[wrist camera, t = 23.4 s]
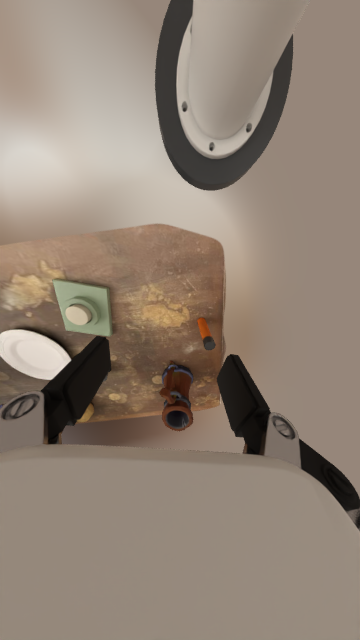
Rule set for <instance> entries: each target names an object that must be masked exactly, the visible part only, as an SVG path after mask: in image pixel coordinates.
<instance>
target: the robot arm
mask: <svg viewBox="0 0 360 640" xmlns="http://www.w3.org/2000/svg"><path fill="white" fill-rule="evenodd" d="M309 1H310V0H193V15H192V17H191V19H190V22H189V24H188V26H187V29H186V31H185V34H184V37H183V41H182V45H181V48H180V53H179V59H178V66H177V83H176V88H177V105H178V113H179V117H180V121H181V125H182V128H183V130H184V133H185V135H186V137H187V139H188V140H189V142H190V144H191V145H192V146H193V147H194V149H195V150H196V151H197V152H199V153H200V154H201V155H203V156H205V157H207V158H210V159H222V158H226V157H228V156H230V155H232V154H234V153H235V152H236V151H238V150H239V149H240V148H241V147H242V146H243V145H244V144H245V143H246V142H247V141H248V139H249V138H250V136H251V135H252V133H253V132H254V130H255V128H256V126H257V125H258V123H259V121H260V119H261V117H262V114H263V112H264V109H265V107H266V104H267V100H268V97H269V94H270V89H271V84H272V78H273V70H274V68H275V66H276V64H277V63H278V61H279V59H280V57H281V55H282V53H283V51H284V49H285V47H286V45H287V43H288V41H289V40H290V38H291V36H292V34H293V32H294V30H295V28H296V26H297V24H298V22H299V20H300V19H301V17H302V15H303V13H304V11H305V9H306V7H307V5H308V3H309ZM183 111H186V112H183ZM246 131H247V132H246ZM209 149H212V151H210V150H209ZM110 368H111V360H110V350H109V341H108V340H107V339H106V337H100V336H96V337H95V338H94V339H93V340H92V341H91V342H90V343H89V344H88V345H87V346H86V347H85V348H84V349H83V350H82V351H81V352H80V353H79V354H77V355H76V356H75V357H74V358H73V359H72V360H71V361H70V362H69V363H68V364H67V365H66V366H65V367H64V368H63V369H62V370H61V371H60V372H59V373H58V374H57V375H56V376H55V377H54V378H53V379H52V380H51V381H50V382H49V383H48V384H47V385H46V386H45V387H44V388H43V389H42V390H41V391H29V392H25V393H22V394H20V395H18V396H16V397H14V398H12V399H11V400H9V401H8V402H7V403H5V404H4V405H3V406H2V407H1V408H0V640H360V499H359V496H358V494H357V492H356V490H355V488H354V487H353V486H352V484H351V483H350V481H349V480H348V479H347V478H346V477H345V475H344V474H343V473H342V472H341V471H339V470H338V469H337V468H336V467H335V466H334V465H333V464H331V463H330V462H329V461H327V460H326V459H325V458H324V457H322V456H321V455H320V454H318V453H317V452H316V451H315V450H313V449H312V448H311V447H309V446H308V445H307V444H306V443H304V442H303V441H302V440H300V439H299V436H298V433H297V431H296V429H295V428H294V426H293V425H292V423H291V422H290V421H289V420H288V419H286V418H285V417H284V416H282V415H281V414H279V413H275V412H273V413H271V412H270V410H269V409H270V408H269V407H268V405H267V403H266V402H265V400H264V398H263V397H262V395H261V393H260V391H259V390H258V388H257V386H256V385H255V383H254V381H253V380H252V378H251V376H250V374H249V373H248V371H247V369H246V368H245V366H244V364H243V363H242V361H241V359H240V357H239V356H238V355H233V354H230V355H229V356H227V358H226V360H225V362H224V364H223V366H222V368H221V370H220V372H219V375H218V377H217V383H218V386H219V390H220V393H221V396H222V400H223V403H224V406H225V409H226V413H227V416H228V419H229V422H230V426H231V429H232V430H233V431H234V433H235V436H236V437H243V438H244V440H245V446H244V450H243V454H240V453H226V452H209V451H192V450H175V449H157V448H139V447H118V446H98V445H97V446H96V445H68V444H62V441H61V432H62V431H63V429H64V428H65V426H66V425H70V426H74V425H75V423H76V421H77V420H80V419H81V418H82V416H83V414H84V413H85V411H86V409H87V408H88V406H89V404H90V403H91V401H92V399H93V397H94V396H95V394H96V392H97V391H98V389H99V387H100V385H101V384H102V382H103V380H104V379H105V377H106V375H107V374H108V372H109V370H110Z"/></svg>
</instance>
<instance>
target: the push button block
mask: <svg viewBox="0 0 360 640" xmlns="http://www.w3.org/2000/svg"><path fill="white" fill-rule="evenodd" d="M52 281H53V285H54V288H55V292H56V295H57V299H58V303H59V306H60V310H61V314H62V317H63V321H64V324H65V328H66V330H67V331H75V332H82V333H89V334H97V335H104V336H111V335H112V334H113V333H112V319H111V306H110V293H109V288H108V287H103V286H97V285H91V284H85V283H80V282H74V281H68V280H62V279H53V280H52ZM74 304H81V305H84V306H86V307H87V308H88V309H89V310H90V311H91V313H92V318H91V320H90V321H89V322H87V323H86V324H84V325H76V324H74V323H72V322H71V321H69V320H68V318H67V317H66V314H65V311H66V309H67V308H68V307H70V306H72V305H74Z"/></svg>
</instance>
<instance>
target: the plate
mask: <svg viewBox="0 0 360 640" xmlns="http://www.w3.org/2000/svg"><path fill="white" fill-rule="evenodd" d="M0 356H1V357H2V358H3V359H4V360H5V361H6V362H7V363H8V364H9V365H10V366H12V367H13V368H15V369H17V370H18V371H20V372H22V373H24V374H27V375H29V376H32V377H35V378H39V379H46V380H52V379H53V378H54V377H55V376H56V375H57V374H58V373H59V372H60V371H61V370H62V369H63V368H64V367H65V366H66V365H67V364H68V363H69V362H70V361H71V358H70V356H69V354H68V353H67V352H66V350H65V349H64V348H63V347H62V346H60V345H59V344H58V343H57V342H55V341H54V340H52V339H50V338H48V337H46V336H44V335H42V334H39V333H36V332H33V331H28V330H23V329H12V330H8V331H4V332H3V333H1V334H0Z"/></svg>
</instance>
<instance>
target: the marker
mask: <svg viewBox="0 0 360 640" xmlns="http://www.w3.org/2000/svg"><path fill="white" fill-rule="evenodd" d="M198 325H199V329H200V332H201V336H202V339H203V344H204V347H205V349H206V350H212V349H214V348H215V342H214V340H213V338H212V336H211V333H210V331H209V328H208V326H207V323H206V321H205V319H204V318H199V319H198Z"/></svg>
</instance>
